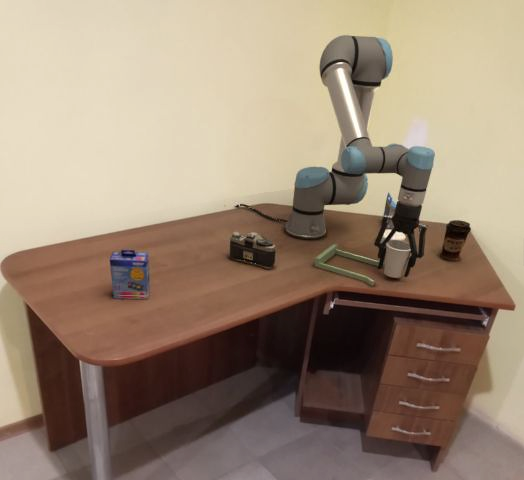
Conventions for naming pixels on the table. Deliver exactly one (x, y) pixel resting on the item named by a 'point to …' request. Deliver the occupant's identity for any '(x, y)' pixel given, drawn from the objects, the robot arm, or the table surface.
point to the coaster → (395, 237)
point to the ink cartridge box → (130, 274)
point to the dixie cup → (396, 257)
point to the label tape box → (389, 210)
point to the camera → (252, 249)
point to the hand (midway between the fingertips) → (393, 271)
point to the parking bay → (328, 254)
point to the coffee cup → (454, 239)
